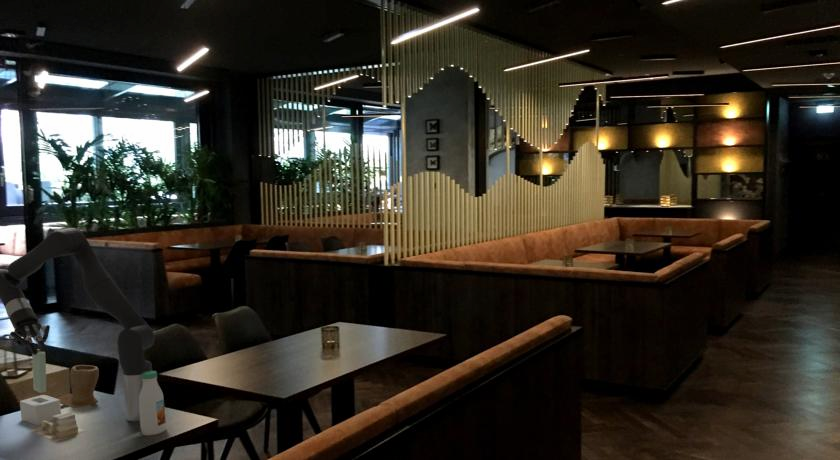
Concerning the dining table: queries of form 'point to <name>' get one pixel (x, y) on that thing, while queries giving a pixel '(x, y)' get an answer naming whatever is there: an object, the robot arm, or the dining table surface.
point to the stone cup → (81, 386)
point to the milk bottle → (151, 405)
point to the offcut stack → (64, 425)
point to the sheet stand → (39, 409)
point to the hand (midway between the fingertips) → (39, 352)
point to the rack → (47, 432)
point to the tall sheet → (39, 371)
